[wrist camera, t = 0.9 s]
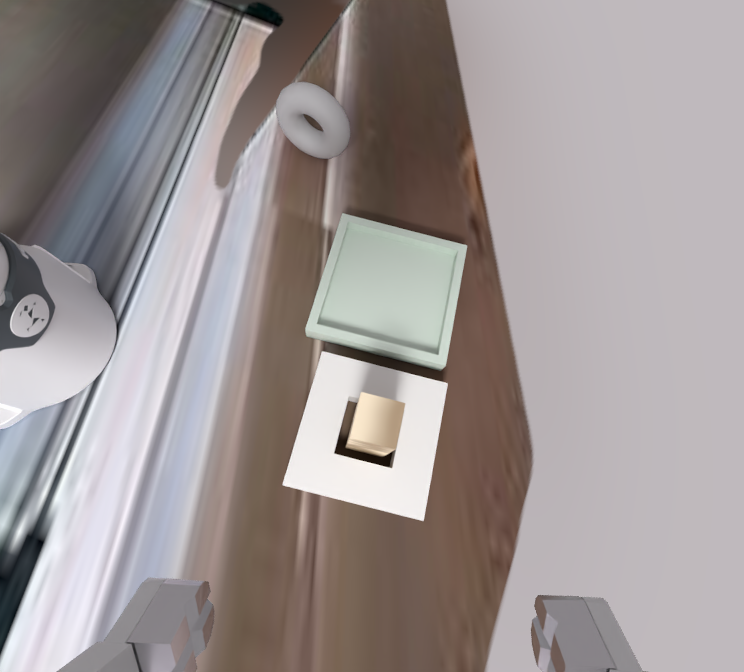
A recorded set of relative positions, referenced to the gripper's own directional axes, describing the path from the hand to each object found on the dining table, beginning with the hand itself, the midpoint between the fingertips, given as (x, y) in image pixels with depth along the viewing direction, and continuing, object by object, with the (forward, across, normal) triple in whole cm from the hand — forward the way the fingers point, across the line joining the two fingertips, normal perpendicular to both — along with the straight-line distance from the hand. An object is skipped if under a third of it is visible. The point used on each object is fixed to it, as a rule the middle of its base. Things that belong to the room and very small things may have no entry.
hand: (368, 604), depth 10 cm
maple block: (+31, +2, +15) cm, 35 cm away
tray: (+42, 0, +2) cm, 42 cm away
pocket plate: (+31, +2, +15) cm, 35 cm away
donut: (+54, +11, -15) cm, 57 cm away
